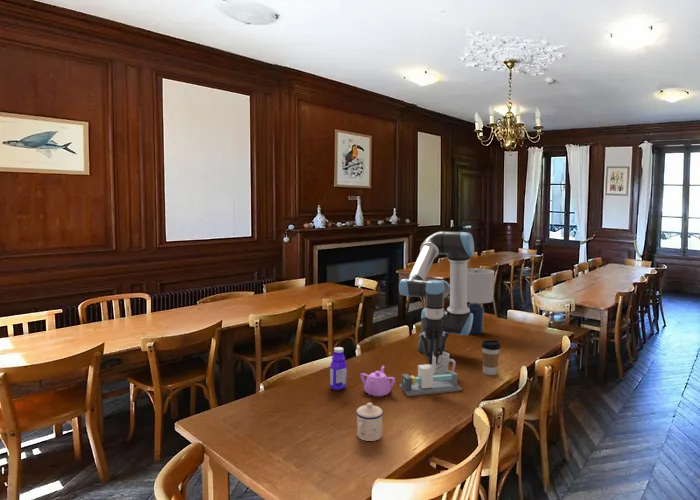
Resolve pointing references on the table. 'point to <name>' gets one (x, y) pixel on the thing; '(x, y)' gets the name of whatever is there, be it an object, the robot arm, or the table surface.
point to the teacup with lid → (369, 422)
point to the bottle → (338, 369)
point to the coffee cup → (490, 356)
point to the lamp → (479, 295)
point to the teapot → (377, 383)
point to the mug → (444, 364)
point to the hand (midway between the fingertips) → (432, 371)
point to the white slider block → (425, 376)
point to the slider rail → (439, 386)
